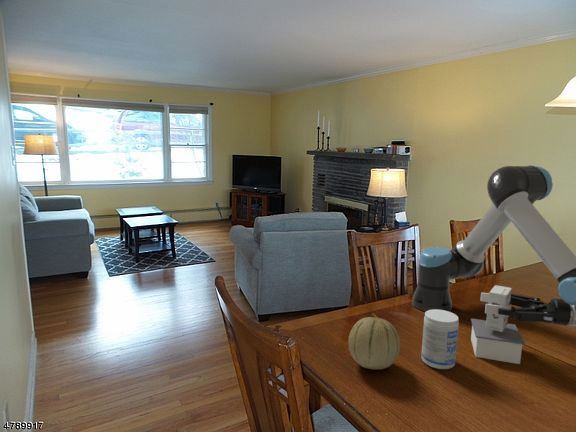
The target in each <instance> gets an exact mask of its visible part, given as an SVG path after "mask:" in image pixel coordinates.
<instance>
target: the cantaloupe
mask: <svg viewBox="0 0 576 432" xmlns="http://www.w3.org/2000/svg"><path fill="white" fill-rule="evenodd" d="M348 335H349V336H348V349H349V353H350V355H351V357H352V358H353V360H354V361H355V362H356V363H357V364H358V365H360V367H362V368H364V369H369V370H384V369H387V368H389V367H391V366H392V365H393V364H394V363H395V362H396V360H397V359H398V357H399V354H400V351H401V349H400V348H401V340H400V336H399V334H398V331H397V330H396V328H395V327H394V325H392V323H391V322H389V321H388V320H386V319H384V318H382V317H381V318H380V317H378V316H377V315H376V314H375V313H371V316H368V317H366V316H365V317H362V318H360V319H359V320H358V321H357V322H356V323H355V324H354V325H353V326H352V327H351V330H350V332H349V334H348Z"/></svg>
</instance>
